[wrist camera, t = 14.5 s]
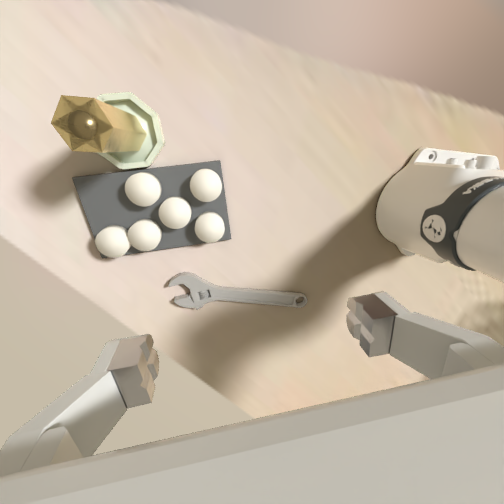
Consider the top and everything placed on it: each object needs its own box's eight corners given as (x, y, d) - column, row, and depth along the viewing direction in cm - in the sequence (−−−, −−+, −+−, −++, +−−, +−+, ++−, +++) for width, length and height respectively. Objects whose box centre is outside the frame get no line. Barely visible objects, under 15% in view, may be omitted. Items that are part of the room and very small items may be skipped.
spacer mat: (219, 160, 37) (220, 161, 34) (230, 237, 42) (232, 243, 39) (75, 177, 35) (64, 179, 32) (103, 256, 39) (96, 263, 37)
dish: (154, 92, 32) (151, 90, 31) (169, 163, 36) (167, 164, 35) (82, 98, 32) (77, 96, 30) (105, 170, 35) (101, 171, 34)
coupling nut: (129, 106, 32) (82, 82, 20) (152, 143, 34) (122, 141, 22) (101, 122, 32) (38, 107, 20) (125, 158, 34) (81, 164, 22)
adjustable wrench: (306, 291, 49) (310, 296, 47) (295, 318, 51) (298, 324, 49) (173, 268, 42) (172, 273, 41) (167, 300, 45) (166, 306, 43)
